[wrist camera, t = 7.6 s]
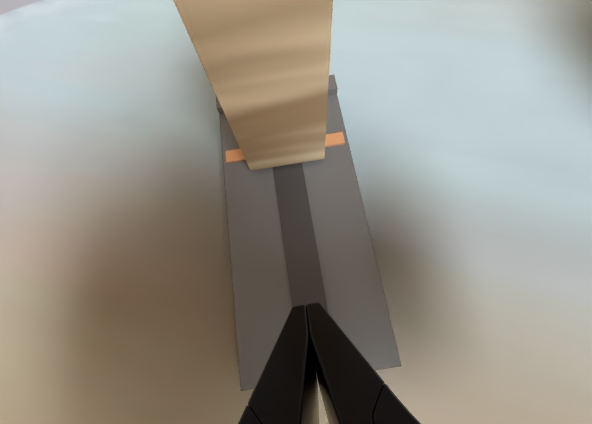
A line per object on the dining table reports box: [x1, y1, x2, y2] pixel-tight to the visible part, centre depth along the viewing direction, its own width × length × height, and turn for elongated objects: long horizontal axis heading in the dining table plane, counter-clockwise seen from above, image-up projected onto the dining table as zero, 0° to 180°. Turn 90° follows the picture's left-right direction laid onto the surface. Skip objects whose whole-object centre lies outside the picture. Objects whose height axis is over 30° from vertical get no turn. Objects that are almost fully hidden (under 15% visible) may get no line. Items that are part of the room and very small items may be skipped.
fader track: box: [216, 75, 401, 391], centre depth 16 cm, size 16×7×2 cm, turn 8°
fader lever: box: [173, 0, 333, 171], centre depth 11 cm, size 3×4×11 cm
